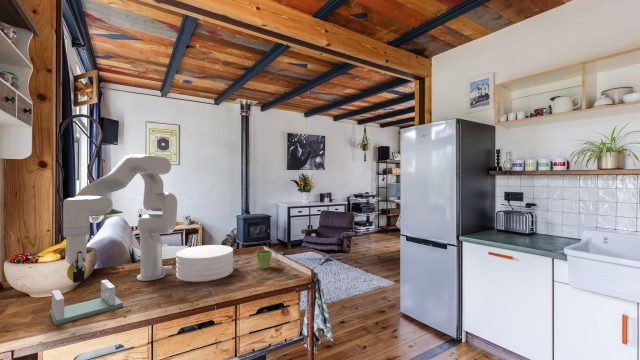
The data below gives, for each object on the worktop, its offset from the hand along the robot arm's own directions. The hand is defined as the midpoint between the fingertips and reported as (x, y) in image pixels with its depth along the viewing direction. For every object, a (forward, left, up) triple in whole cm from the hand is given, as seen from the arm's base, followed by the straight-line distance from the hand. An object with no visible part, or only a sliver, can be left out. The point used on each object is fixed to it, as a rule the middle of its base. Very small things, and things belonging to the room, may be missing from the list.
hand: (77, 279), depth 111 cm
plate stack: (-55, -10, -13) cm, 57 cm away
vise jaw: (-10, 0, -11) cm, 14 cm away
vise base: (-3, 0, -12) cm, 13 cm away
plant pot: (-81, +6, -13) cm, 82 cm away
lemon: (0, 0, -1) cm, 1 cm away
